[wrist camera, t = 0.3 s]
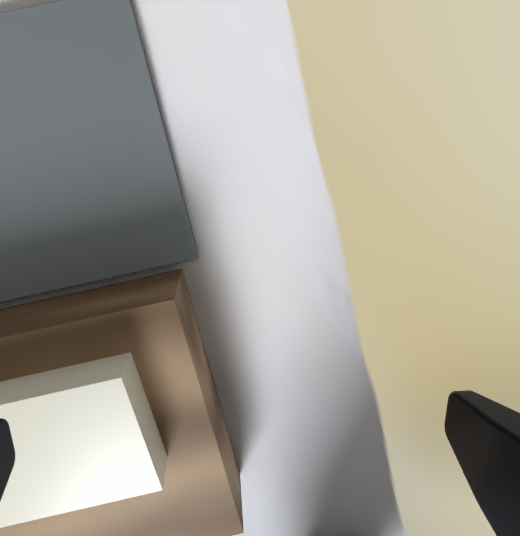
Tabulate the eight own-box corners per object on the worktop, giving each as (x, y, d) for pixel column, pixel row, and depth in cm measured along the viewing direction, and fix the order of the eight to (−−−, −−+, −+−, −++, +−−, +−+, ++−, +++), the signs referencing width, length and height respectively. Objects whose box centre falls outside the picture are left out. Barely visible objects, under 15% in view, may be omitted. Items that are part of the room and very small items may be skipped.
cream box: (167, 456, 21) (162, 490, 19) (-14, 499, 21) (-38, 536, 19) (131, 352, 19) (121, 377, 17) (-71, 397, 19) (-103, 428, 17)
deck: (240, 474, 27) (243, 532, 23) (-109, 556, 26) (-164, 628, 22) (181, 268, 22) (174, 299, 18) (-244, 363, 22) (-341, 414, 18)
